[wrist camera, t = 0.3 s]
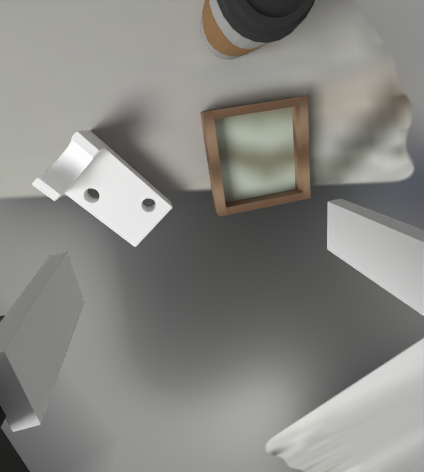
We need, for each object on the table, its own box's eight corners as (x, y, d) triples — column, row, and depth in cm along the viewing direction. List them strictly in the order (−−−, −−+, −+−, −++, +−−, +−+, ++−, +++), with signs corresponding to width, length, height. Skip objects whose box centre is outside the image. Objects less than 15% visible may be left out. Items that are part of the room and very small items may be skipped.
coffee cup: (272, 40, 37) (347, -11, 23) (218, 84, 37) (260, 59, 23) (234, -32, 34) (295, -142, 20) (176, 17, 34) (195, -58, 20)
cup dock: (200, 112, 38) (204, 111, 35) (296, 97, 40) (307, 95, 37) (214, 210, 43) (219, 216, 40) (300, 193, 44) (310, 198, 42)
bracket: (53, 173, 37) (31, 184, 30) (90, 130, 36) (76, 131, 29) (136, 237, 42) (133, 260, 35) (170, 201, 41) (175, 216, 34)
